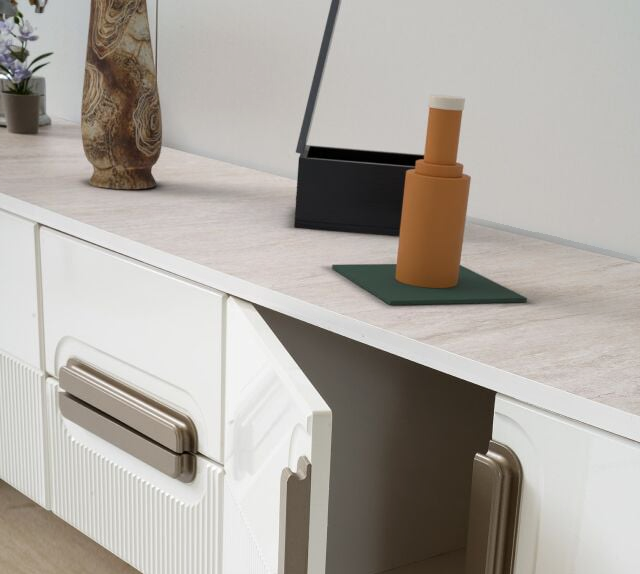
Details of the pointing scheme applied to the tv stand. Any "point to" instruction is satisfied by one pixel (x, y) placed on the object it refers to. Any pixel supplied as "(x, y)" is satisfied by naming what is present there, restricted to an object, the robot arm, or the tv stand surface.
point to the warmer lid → (318, 75)
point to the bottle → (435, 203)
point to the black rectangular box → (351, 189)
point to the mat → (397, 293)
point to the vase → (120, 96)
